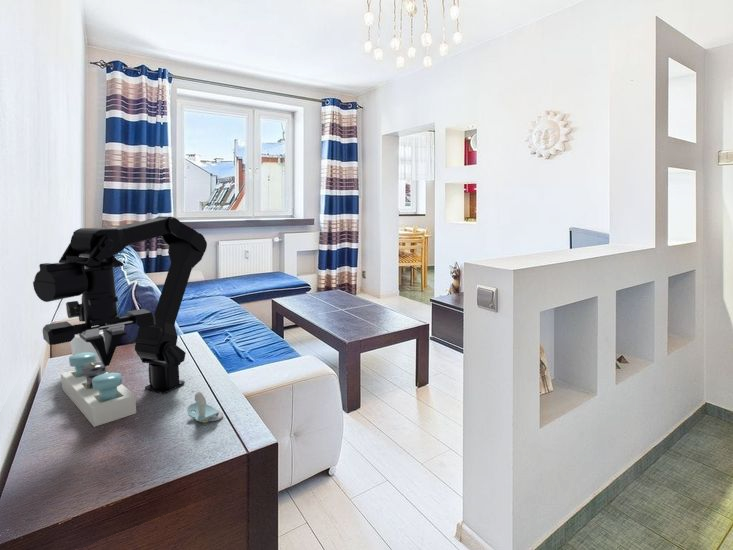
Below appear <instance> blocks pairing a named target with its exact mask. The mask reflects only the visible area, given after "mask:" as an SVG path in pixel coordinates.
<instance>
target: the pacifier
mask: <svg viewBox="0 0 733 550" xmlns="http://www.w3.org/2000/svg"><path fill="white" fill-rule="evenodd" d="M194 401H195V402H194V403H192V404H190V405H189V406H188V407H187V414H188V415H189V417H190V418H192V419H195V421H197V422H199V423H208V422H216V421H219V420H221V419H222V418H223V416H224V413H223V411H222V410H220V409H218V408H215V407H213V406H211V405H209V404H207V400H206V398H205V396H204V394H203V393H202V392H201V391H196V393H195V395H194ZM216 415H217V416H216Z"/></svg>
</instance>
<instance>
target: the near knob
mask: <svg viewBox="0 0 733 550" xmlns="http://www.w3.org/2000/svg"><path fill="white" fill-rule="evenodd" d="M121 384H122V385H123V377H122V373H120V372H108V373H106V374H101V375H98V376H96V377H94V378H93V379H92V385H93V389H95V390H99V396H100V401H101V402H105V401H109V400H112V399H115V398H118V393H117V386H119V385H121Z"/></svg>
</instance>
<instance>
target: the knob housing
mask: <svg viewBox="0 0 733 550" xmlns="http://www.w3.org/2000/svg"><path fill="white" fill-rule="evenodd" d="M106 373H109V372H108V371H107V372H106ZM106 373H104V374H106ZM60 380H61V386H62V387H61V388H62V390H63V392H64V393H65V394H66V396H67V397H68V398H69V399H70V400H71V402H73V403H74V405H75V406H76V407H77V408H78V410H79V411H80V412H81V413H82V414H83V416H84V417H85V418H86V419H87V420H88V422H89V423H90V424H91V425H92V426H93V427H94V428H95V427H98V426H101V425H104V424H107V423H110V422H113V421H117V420H120V419H122V418H125V417H129V416H132V415H136V414H137V404H136V403H137V402H136V394H134V393H133V391H132V392H131V391H130V390H129V389H128V388H127V387H126V386H125V385H123V383H122V384H121V385H119V386H117V393H118V398H115V399H112V400H109V401H105V402H101V401H100V396H99V390H95V389H93V388H91V389H89V388H87V380H86V377H84V376H82V377H76V370H75V369H74V370H73V369H72V370H68V371H65V372H61V373H60Z"/></svg>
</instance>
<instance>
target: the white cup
mask: <svg viewBox="0 0 733 550" xmlns="http://www.w3.org/2000/svg"><path fill="white" fill-rule="evenodd" d="M99 332H100V335H101V336H103V337H104V334H103V330H99ZM104 343H105V339H104ZM69 344H70V347H71V348H70V349H71V353H72V354H71V356H73V355H75V354H79V353H86V352H92V353H95V354H96V362H94V363H97V362H101V360H100V358H99V356H98V354H97V352H96V350H95V349H94V347H93V346H92V344H91V343H90V342H85V341H84V340H83V339H82V338H80V336H79V334H76V335H75V337H74V338H73V339H72V341H71V342H69ZM74 370H76V369H75V368H74Z"/></svg>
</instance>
